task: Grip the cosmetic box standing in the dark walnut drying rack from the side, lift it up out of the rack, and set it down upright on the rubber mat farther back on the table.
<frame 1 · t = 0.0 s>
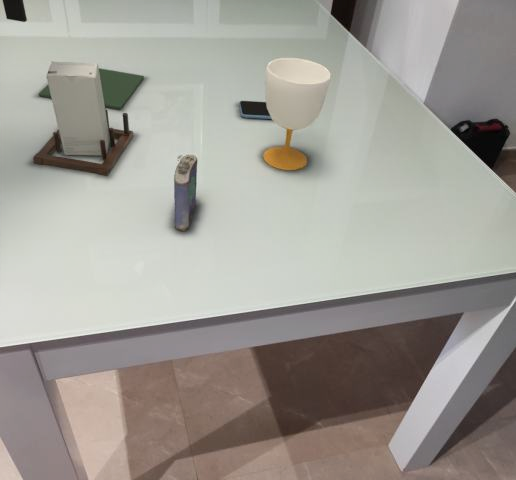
hand: (36, 6, 80), 24 cm above the table, tool pointing down, fingers open, 13 cm apart
flask: (184, 216, 88), on the table
mat: (94, 86, 117), on the table
cosmetic box: (86, 150, 99), resting in rack
rack: (86, 148, 99), on the table
smartphone: (272, 113, 118), on the table
cup: (285, 159, 104), on the table
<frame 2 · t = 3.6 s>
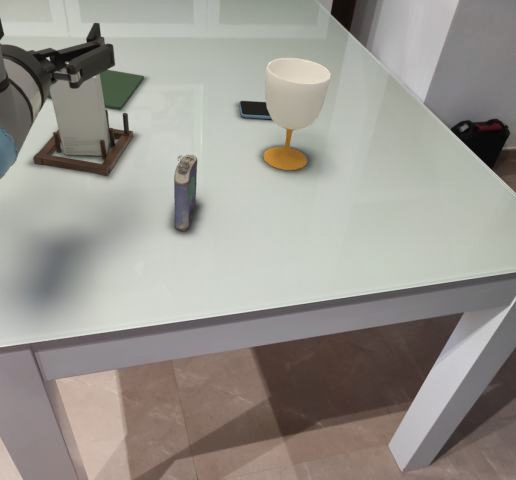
hand: (49, 28, 73), 24 cm above the table, tool horizontal, fingers open, 13 cm apart
nothing on the table moved.
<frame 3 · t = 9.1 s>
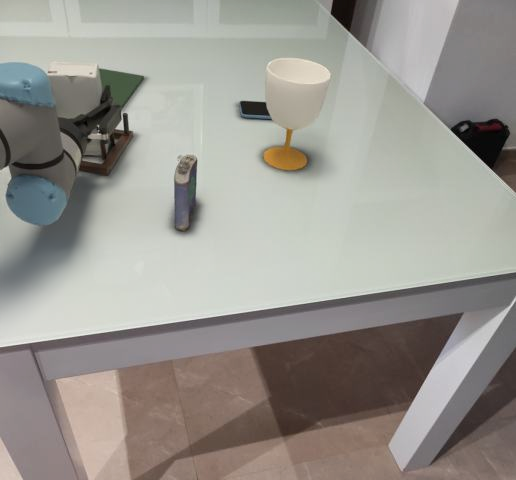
hand: (83, 90, 95), 9 cm above the table, tool horizontal, fingers closed on cosmetic box, 8 cm apart
cosmetic box: (86, 150, 99), resting in rack, touching gripper
everything else where it was.
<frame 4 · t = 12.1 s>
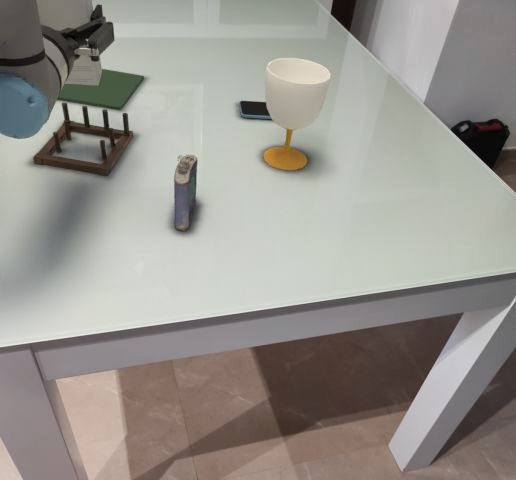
hand: (72, 10, 85), 22 cm above the table, tool horizontal, fingers closed on cosmetic box, 8 cm apart
cosmetic box: (75, 80, 89), point 13 cm above the table, touching gripper
everything else where it was.
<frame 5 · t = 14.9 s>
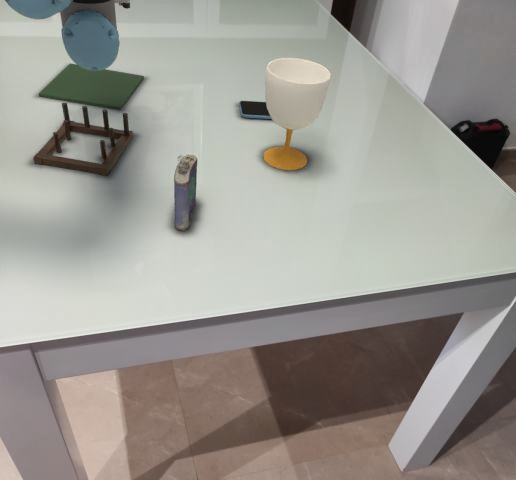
cosmetic box: (92, 34, 98), point 15 cm above the table, touching gripper
everything else where it was.
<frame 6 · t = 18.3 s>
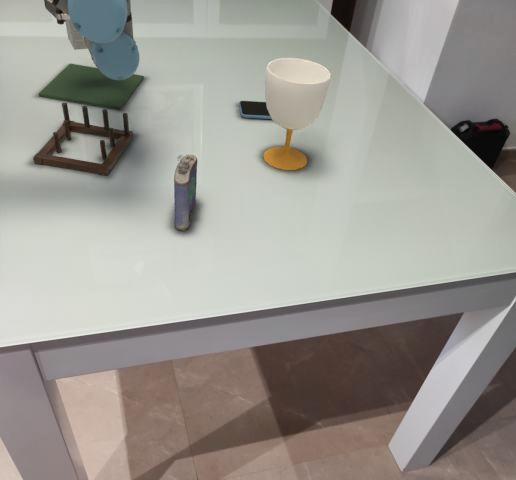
cosmetic box: (89, 45, 110), point 9 cm above the table, touching gripper
everything else where it was.
when the fingers open (10 cm above the table, at t = 21.1 s): cosmetic box stays where it is, resting on mat.
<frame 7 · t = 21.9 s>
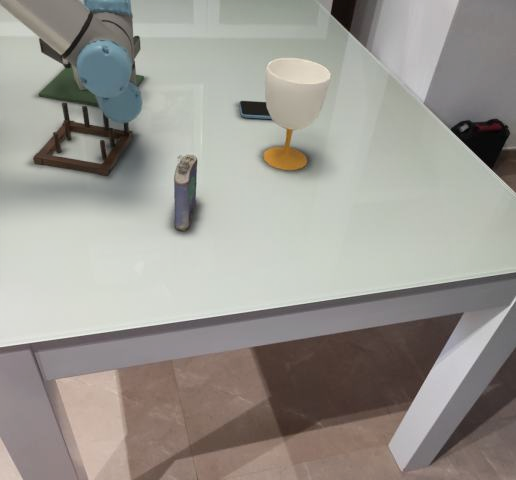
hand: (84, 30, 111), 10 cm above the table, tool horizontal, fingers open, 13 cm apart
cosmetic box: (94, 85, 116), resting on mat
everything else where it was.
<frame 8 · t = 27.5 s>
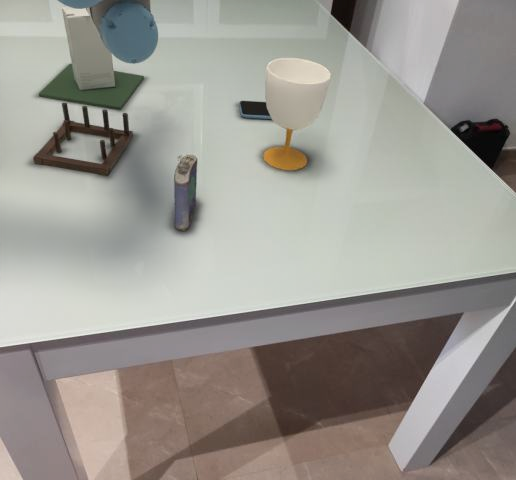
nothing on the table moved.
at the end: cosmetic box inside the target area on the mat (0.1 cm from its centre), point 0.4 cm above the mat's base; cosmetic box tilted 0°; the gripper is holding nothing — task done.
